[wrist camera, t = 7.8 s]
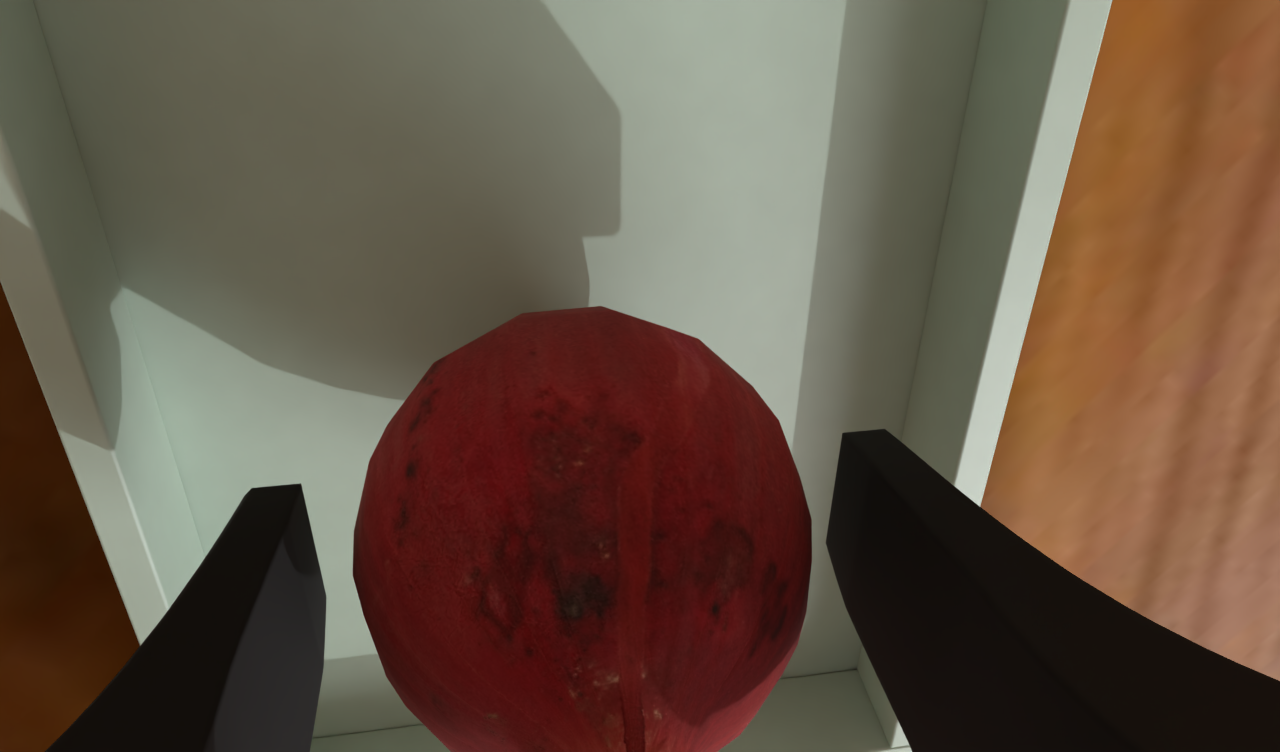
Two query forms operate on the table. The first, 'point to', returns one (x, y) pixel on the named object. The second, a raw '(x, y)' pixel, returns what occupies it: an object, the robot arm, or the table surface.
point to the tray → (518, 250)
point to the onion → (583, 541)
